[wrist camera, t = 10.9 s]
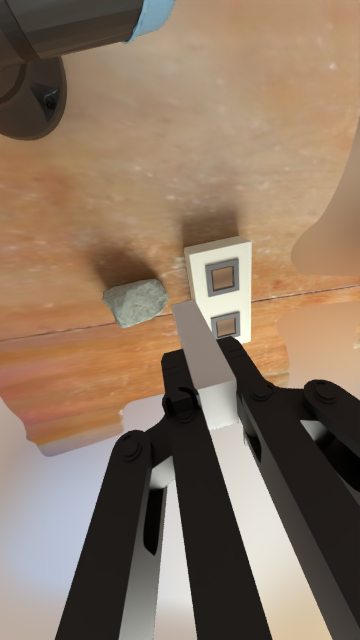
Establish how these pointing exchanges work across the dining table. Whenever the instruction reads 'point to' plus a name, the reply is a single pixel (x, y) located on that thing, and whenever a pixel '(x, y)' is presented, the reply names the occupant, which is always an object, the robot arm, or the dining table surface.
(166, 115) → the dining table surface
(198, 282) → the socket block
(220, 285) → the peg
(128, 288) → the decorative stone
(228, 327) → the peg
